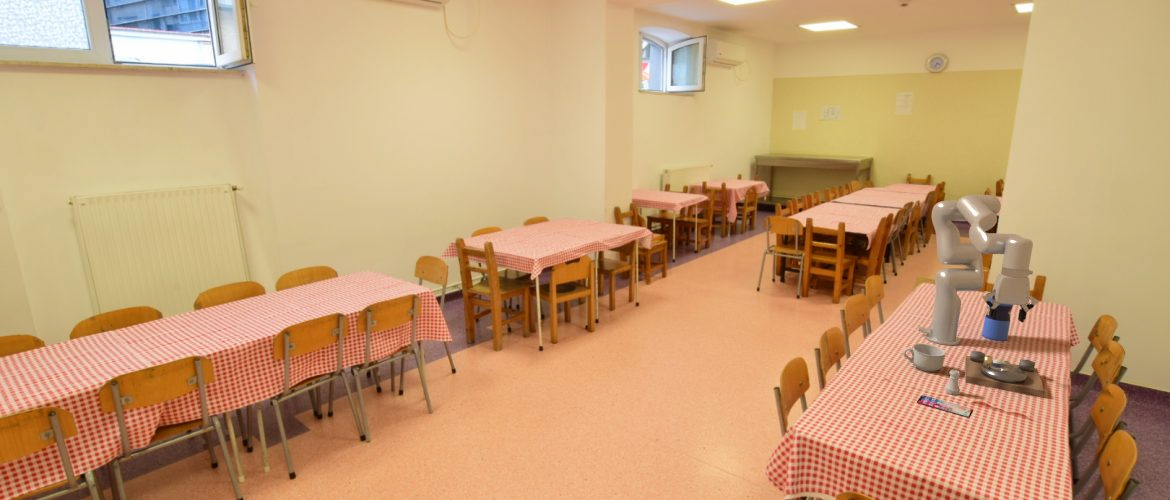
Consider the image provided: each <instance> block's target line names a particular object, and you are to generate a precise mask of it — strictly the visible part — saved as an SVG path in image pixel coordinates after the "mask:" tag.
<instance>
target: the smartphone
mask: <svg viewBox="0 0 1170 500" xmlns="http://www.w3.org/2000/svg"><path fill="white" fill-rule="evenodd" d="M916 403H917V404H919V405H921V406H925V407H929V408H932V409H935V410H939V411H942V412H946V413H949V414H952V415H957V416H959V417H964V418H970V417H971V416H972V413H973V412H974V410H973V408H971V407H967V406H964V405H960V404H956V403H953V402H950V401H946V400H942V399H940V398H939V399H938V398H934V397H931V396H927V395H921V396H920V397H919V398H918V399H917V400H916Z"/></svg>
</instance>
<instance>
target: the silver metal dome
mask: <svg viewBox="0 0 1170 500" xmlns="http://www.w3.org/2000/svg"><path fill="white" fill-rule="evenodd" d="M993 358H994V357H993V356H991V355H985V357H984V363H983V365H982V369H981V372H982V374H984V375H985V376H987V377H989V378H991V379H994V380H997V381H1001V382H1006V383H1015V384H1019V383H1024V382H1025V381H1026V377H1027V374H1026V373H1025V372H1024V371H1022V370H1021V369H1018V368H1016V367H1013V366H1009V365H1005V364H999V363H992V360H994V359H993Z"/></svg>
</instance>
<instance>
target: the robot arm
mask: <svg viewBox="0 0 1170 500" xmlns="http://www.w3.org/2000/svg"><path fill="white" fill-rule="evenodd" d="M1001 206H1002V204H1001V201H1000V200H999V198H998V197H996V196H994V195H992V194H969V195H968V194H967V195H964V196H962V197H960V198H959V199H958V200H957V199H955V200H954V199H953V200H949V199H948V200H942V201H939V202H937V203H936V204H934V206H933V208H932V209H931V222H932V226H933V228H934V230H935V231H934V232H935V236H936V237H935V238H936V250H937V260H938V261H939V263H940V264H941V265H945V266H964V268H958V267H957V268H955V267H953V268H952V267H949V268H941V269H939V270H938V271H937V272H936V273H935V277H934V282H935V283H934V284H935V286H934V287H935V296H934V304H933V310H932V311H933V312H932V319H931V325H930V326H929V327H928V326H927V327H923V326H918V329H917V330H918V332H921V333H922V334H925V338H926V339H927V340H928V341H930V342H932V343H935V344H939V345H944V346H945V345H947V346H956V345H959V344H960V343H961V339H960V338H959V337H957V336H958V329H959V322H960V314H961V307H962V299H961V298H960V296H959V295H958V293H957V292H977V291H980V290H982V288H983V286H984V284H985V276H984V262H983V254H985V255H1003V258H1002V259H1003V260H1002V266H1001V271H1000V273H998V274H997V276H996V277H995V280H994V284H993V286H992V287H993V288H992V291H989V292H987V293H985V294H983V295H982V296H981V298H982V299H983V300H984V302H985V303H986V305H987V304H988V305H989V307H990V311H989V316H990V318H991V319H992V320H995V319H996V313H997V310H996V307H997V306H998V305H999V304H1011V305H1013V306H1020V309H1019V312H1018V315H1017V316H1018V317H1017V320H1018V321H1019V322H1021V323H1024V322H1025V320H1026V318H1027V314H1028V312H1029V311H1031V310H1032V309H1033V308H1035V306H1036V305H1037V304H1039V300H1038V299H1037V298H1035V297H1034V296H1033V295H1031V294H1030V293H1031V292H1030V290H1031V286H1030V284H1031V282H1030V278H1029V275H1033V273H1034V271H1033V270H1030V269H1029V268H1030V263H1031V257H1032V251H1033V247H1034V242H1033V241H1032V240H1031V239H1029V238H1025V237H1022V236H1021V235H1019V234H1016V233H995V232H994V233H992V232H991V233H988V232H986V231H989V230H991V229H992V228H993V227H995V225H996V224H997V221H998V216H997V215H998V214H999V213H1000V211H1001V209H1002V207H1001ZM952 221H953V222H954V221H956V222H968V224H969V225H970V227H969V230H968V238H969V241H970V242H962V241H961V234H960V231H959V228H958V227H957V226H956V224H955V223H953V222H952ZM990 297H991V298H992V299H993V301H992V302H990V301H989V298H990ZM1029 300H1030V301H1029Z"/></svg>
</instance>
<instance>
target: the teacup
mask: <svg viewBox="0 0 1170 500" xmlns="http://www.w3.org/2000/svg"><path fill="white" fill-rule="evenodd" d="M907 352H910V353H911V357H910V356H908V355H907ZM902 355H903V356H904V357H905V359H907V360H908V361H909V362H910V363H911V364H913V366H915V367H916V368H917V369H918V370H921V371H923V372H930V373H931V372H933V373H934V372H937V371H938V370H940V369H942V368H943V366H944V361H945V356H946V351H945V350H944V349H943V348H941V347H939V346H937V345H932V344H928V343H915V344H913V345H912V348H911V347H905V348H904V349H903V350H902Z"/></svg>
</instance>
